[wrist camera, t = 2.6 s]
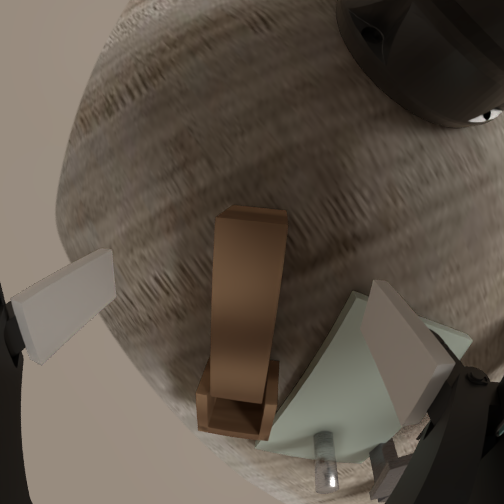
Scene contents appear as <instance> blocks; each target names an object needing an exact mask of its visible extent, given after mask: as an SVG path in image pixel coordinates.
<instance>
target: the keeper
mask: <svg viewBox="0 0 504 504" xmlns="http://www.w3.org/2000/svg"><path fill="white" fill-rule="evenodd" d="M369 455H370V460H371V465H372V470H373V475H374V480H375V484H374V486H373V488H372V489H371V491H370V492H369V493H370V499H371V500H373V499H378V502H386V501H387V499H388V498H389V496H390V495H391V493H392V491H393V490H394V488H395V486H396V485H397V483H398V481H399V480H400V478H401V476H402V474H403V472H404V471H405V469H406V467H407V465H408V463H409V461H410V459H411V457H412V455H413V454H409V455H406V456H403V457H399V458H398V456H397V452H396V449H395V445H394V442H393V439H392V438H391V439H390V440H388V441H387V442H386V443H380V444H379V445H377V446H376V447H375V448H374V449H373V450H372V451H370V452H369Z"/></svg>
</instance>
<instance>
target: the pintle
mask: <svg viewBox="0 0 504 504" xmlns="http://www.w3.org/2000/svg"><path fill="white" fill-rule="evenodd" d="M313 441H314V460H315V484H316V492H317V493H320V494H326V493H331V492H334V491H336V490H338V489H339V485H338V475H337V465H336V456H335V447H334V439H333V433H332V432H330V431H320V432H318V433H316V434H315V435H314V436H313Z"/></svg>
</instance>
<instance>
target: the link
mask: <svg viewBox="0 0 504 504" xmlns="http://www.w3.org/2000/svg"><path fill="white" fill-rule="evenodd" d="M287 233H288V218H287V211H286V210H277V209H268V208H259V207H249V206H239V205H232V206H231V207H229V208H228V209H227V210H225V211H224V212H222V213H221V214H219V215H218V216H217V217H215V233H214V252H213V275H212V303H211V354H210V357H209V359H208V362H207V365H206V367H205V370H204V373H203V375H202V378H201V380H200V383H199V386H198V388H197V391H196V407H197V421H198V431H203V432H208V433H213V434H219V435H225V436H231V437H237V438H245V439H252V440H261V441H268V440H269V436H270V432H271V428H272V425H273V421H274V417H275V413H276V408H277V400H278V378H279V361H273V360H269V359H270V353H271V347H272V340H273V334H274V327H275V321H276V314H277V307H278V301H279V294H280V286H281V279H282V272H283V264H284V257H285V249H286V241H287ZM268 365H269V366H268ZM267 371H268V372H267ZM266 377H267V378H266ZM264 388H265V389H264Z"/></svg>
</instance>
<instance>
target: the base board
mask: <svg viewBox="0 0 504 504" xmlns="http://www.w3.org/2000/svg"><path fill="white" fill-rule="evenodd" d="M368 298H369V296H366V295H363V294H361V293H358V292H356V291H352V293H351V294H350V296H349V298H348V300H347V302H346V304H345V306H344V307H343V309H342V311H341V313H340V315H339V317H338V318H337V320H336V322H335V324H334V325H333V327H332V329H331V330H330V332H329V334H328V336H327V337H326V339H325V341H324V342H323V344H322V346H321V347H320V349H319V350H318V352H317V354H316V355H315V357H314V359H313V360H312V362H311V363H310V365H309V366H308V368H307V369H306V371H305V373H304V374H303V376H302V377H301V379H300V380H299V382H298V383H297V385H296V386H295V387H294V389H293V390H292V392H291V393H290V395H289V396H288V398H287V399H286V400H285V402H284V403H283V405H282V406H281V407H280V409H279V410H278V411H277V413H276V414H275V417H274V421H273V425H272V428H271V432H270V436H269V440H268V441H261V440H256V441H255V449H259V450H264V451H268V452H273V453H278V454H283V455H288V456H294V457H300V458H307V459H314V441H313V436H314V435H315V434H316V433H318V432H320V431H330V432H332V433H333V439H334V447H335V456H336V462H343V463H359V464H361V463H362V462H364V461H365V460H366V459H367V458H369V457H370V455H369V452H370V451H372V450H373V449H374V448H375V447H376V446H377V445H379V444H380V443H386V442H387V441H388V440H390V439H391V438H392V437H393V436H394V435H395V434H396V433H397V432H398V431H399V430H400V429H401V428H402V427H403V426H402V427H401V424H400V422H399V419H398V416H397V414H396V411H395V409H394V406H393V404H392V401H391V399H390V396H389V394H388V391H387V389H386V387H385V384H384V382H383V379H382V377H381V375H380V372H379V370H378V368H377V366H376V363H375V361H374V359H373V356H372V354H371V352H370V350H369V348H368V345H367V343H366V341H365V339H364V337H363V335H362V332H361V330H360V326H361V323H362V320H363V316H364V313H365V309H366V306H367V302H368ZM418 317H419V318H420V319H421V320H422V321H423V322H424V324H425V325H426V326H427V327H428V328H429V329H431V330H433V331H434V332H435V333H437V334H438V335H439V336H440V337H441V338H442V339H443V340H444V342H445V344H447V345H448V347H449V348H450V350H452V352H453V353H454V354H455V355H456V357H457V358H458V359H459V360H460V359H461V358H462V356H463V355H464V353H465V352H466V351H467V349H468V348H469V346H470V345H471V343H472V341H473V340H472V339H471V338H470V337H469V336H468V334H466V333H463V332H460V331H458V330H455V329H453V328H450V327H447V326H445V325H442V324H439V323H437V322H434V321H432V320H429V319H426V318H424V317H421V316H418Z"/></svg>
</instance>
